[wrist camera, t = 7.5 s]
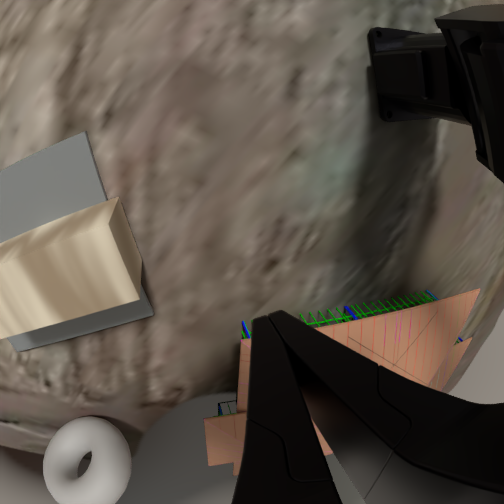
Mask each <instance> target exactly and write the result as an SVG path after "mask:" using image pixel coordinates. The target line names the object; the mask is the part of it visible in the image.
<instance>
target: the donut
mask: <svg viewBox="0 0 504 504" xmlns="http://www.w3.org/2000/svg"><path fill="white" fill-rule="evenodd" d="M90 451H92V459H91V463H90V465H89V468H88V469H87V471H86V472H85V474H84V475H82V476H81V477H80V478H78V477H77V469H78V465H79V462H80V460H81V459H82V458H83V456H84V455H85V454H86V453H88V452H90ZM131 463H132V459H131V454H130V449H129V445H128V443H127V441H126V439H125V438H124V436H123V434H122V433H121V431H120V430H119V429H118V428H117V427H115V426H114V425H113V424H111V423H110V422H109V421H107V420H105V419H102V418H98V417H93V416H87V417H79V418H76V419H74V420H72V421H70V422H68V423H66V424H65V425H64V426H63V427H61V428H60V429H59V430H58V431H57V432H56V434H55V435H54V436H53V438H52V439H51V441H50V443H49V445H48V447H47V449H46V452H45V456H44V461H43V474H44V478H45V482H46V485H47V488H48V490H49V492H50V493H51V494H52V496H53V497H54V499H55V500H56V501H57V502H58V503H59V504H115V503H116V502H117V501H118V499H119V498H120V496H121V495H122V494H123V492H124V491H125V489H126V487H127V484H128V481H129V478H130V475H131Z"/></svg>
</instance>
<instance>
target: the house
mask: <svg viewBox="0 0 504 504" xmlns="http://www.w3.org/2000/svg"><path fill="white" fill-rule="evenodd" d="M479 292H480V288H479V289H476V290H472V291H469V292H466V293H462V294H459V295H455V296H452V297H448V298H445V299H441V300H438V299H437V298H436V297H435V296H434V295H433V294H431V293H430V292H429V291H428V290H426V293H428V294H429V295H430V296H431V297H432V298H428V297H427V296H426V295H425V294H424V293H423V292H422V291H421V293H422V294H423V295H424V298H425V299H423V298H422V297H420V296H419V295H418V294H417V293H416V292H415V294H416V295H417V296H418V297H420V298H421V299H422V300H421V301H418V300H417V299H416V298H415V297H413V296H412V295H411V294H409V295H410V296H411V297H413V298H414V299H415V300H416V302H418V303H419V304H420V305H419V306H416V305H415V304H414V303H416V302H412V301H410V300H409V299H408V298H407V297H406V296H405V295H403V296H404V297H405V298H406V299H407V300H408V301H410V302H411V303H409V304H406V303H405V302H404V301H403V300H402V299H401V298H400V297H399V296H397V297H398V298H399V299H400V300H401V301H402V302H403V303H404V304H403V305H399V304H398V303H397V302H396V301H395V300H394V299H393V298H392V297H391V299H392V300H393V301H394V302H395V303H396V304H397V305H398V306H396V307H393V306H392V305H391V304H390V303H389V302H388V301H387V300H386V299H384V300H385V301H386V302H387V303H388V304H389V305H390V306H391V307H390V308H386V307H385V306H384V305H383V304H382V303H381V302H380V301H379V300H378V302H379V303H380V304H381V305H382V306H383V307H384V308H385V309H383V310H379V309H378V308H377V307H376V306H375V305H374V304H373V303H372V302H370V303H371V304H372V305H373V306H374V307H375V308H376V309H377V310H376V311H371V310H370V309H369V308H368V307H367V306H366V304H365V303H363V304H364V305H365V307H366V308H367V309H368V310H369V311H370V312H368V313H364V312H363V311H362V310H361V309H360V308H359V307H358V306H357V304H356V307H357V308H358V309H359V310H360V311H361V312H362V314H359V313H358V312H357V311H356V309H355V308H354V307H353V306H352V305H351V307H352V308H353V309H354V311H355V312H356V313H357V314H358V315H354V314H353V312H352V311H351V310H350V309H349V308H348V307H347V306H344V308H345V309H346V310H347V311H348V312H349V314H350V315H351V316H346V315H345V313H343V314H344V316H345V317H344V316H343V315H342V313H341V312H340V311H339V310H338V308H337V307H336V309H337V311H338V312H339V313H340V314H341V316H342V317H343V318H338V319H336V318H335V317H334V316H333V315H332V313H331V312H330V311H329V309H327V310H328V312H329V313H330V314H331V316H332V317H333V318H334V319H331V320H326V319H325V318H324V316H323V315H322V313H321V312H320V311H318V312H319V313H320V315H321V316H322V317H323V319H324V320H325V321H322V322H317V321H316V320H315V318H314V317H313V315H312V314H311V313H310V312H309V314H310V315H311V317H312V318H313V319H314V321H315V322H314V323H308V324H307V322H306V321H305V319H304V318H303V316H302V315H301V313H300V316H301V317H302V319H303V320H304V322H305V323H306V324H307V325H310V324H317V325H318V328H315V329H316V330H318V331H320V332H322V333H323V334H325V335H327V336H329V337H331V338H332V339H334V340H336V341H338V342H340V343H341V344H343V345H345V346H347V347H349V348H350V349H352V350H354V351H356V352H358V353H360V354H361V355H363V356H365V357H367V358H369V359H371V360H372V361H374V362H376V363H378V366H379V365H382V366H384V367H386V368H388V369H389V370H391V371H393V372H395V373H397V374H399V375H401V376H403V377H405V378H408V379H410V380H412V381H415V382H417V383H419V384H422V385H424V386H427V387H430V388H432V389H435V390H438V391H440V392H441V390H442V389H443V387H444V386H445V384H446V383H447V381H448V379H449V378H450V376H451V374H452V373H453V371H454V370H455V368H456V366H457V364H458V363H459V361H460V359H461V358H462V356H463V354H464V352H465V350H466V349H467V347H468V345H469V343H470V341H471V339H472V337H471V338H469V339H467V340H464V341H463V340H462V339H461V338H459V337H458V336H459V334H460V332H461V330H462V328H463V326H464V324H465V322H466V320H467V318H468V316H469V314H470V312H471V310H472V307H473V305H474V303H475V301H476V299H477V296H478V294H479ZM427 298H428V299H429V300H430V301H431V302H430V301H429V300H428V299H427ZM431 299H433V301H434V299H435V300H436V301H434V302H433V301H432V300H431ZM425 300H427V301H429V302H430V303H427V302H426V301H425ZM422 301H424V302H425V303H426V304H422V303H420V302H422ZM410 304H413V305H414V306H415V307H411V308H410V307H409V306H408V305H410ZM404 305H406V306H407V307H408V308H407V309H403V308H402V307H401V306H404ZM397 307H400V308H401V309H402V310H398V311H397V310H396V309H395V308H397ZM391 308H393V309H394V310H395V311H394V312H390V311H389V310H388V309H391ZM384 310H387V311H388V312H389V313H386V314H383V313H382V312H381V311H384ZM377 311H379V312H380V313H381V315H377V316H376V315H375V314H374V313H373V312H377ZM370 313H372V314H373V315H374V316H372V317H367V316H366V315H365V314H370ZM361 315H364V316H365V317H366V318H362V316H361ZM356 316H360V318H361V319H359V320H358V318H357V317H356ZM348 317H352V320H351V321H350V319H349V318H348ZM346 318H347V319H348V321H349V322H348V321H347V320H346ZM353 318H354V321H353ZM340 319H345V321H346V322H343V321H341V322H342V323H339V322H338V321H337V320H340ZM332 320H335V321H336V322H337V324H334V325H330V324H329V323H328V322H327V321H332ZM251 321H252V320H251ZM324 322H326V323H327V324H328V326H323V327H320V326H319V324H318V323H324ZM242 325H243V327H244V330H245V332H246V335H247V339H246V337H245V335H244V332H243V331H241V332H242V334H243V337H244V339H241V347H240V363H239V379H238V393H236V400H233V401H236V404H237V413H233V414H231V411H230V414H227V415H223V414H222V410H221V406H220V404H221V403H228V402H233V401H227V402H220V403H218V416H214V417H210V418H204V427H205V437H206V446H207V454H208V464H209V466H214V465H220V464H227V463H232V462H234V465H233V466H234V467H233V476H235V475H239V470H240V465H241V460H242V454H243V447H244V438H245V426H246V420H247V419H246V414H247V398H248V382H249V366H250V350H251V336H250V334H251V333H252V332H249V331H248V329H247V326H246V324H245V322H244V321H242ZM458 339H459V340H460V341H461V342H460V343H459V342H458V341H457V340H458ZM456 342H457V343H458V344H456ZM228 407H229V405H228ZM311 419H312V418H311ZM312 422H313V424H314V427H315V430H316V433H317V436H318V439H319V441H320V444H321V447H322V450H323V453H324V455H329V454H332V453H333V452H332V450H331V449H330V447H329V445H328V444H327V442H326V441H325V439H324V437H323V436H322V434H321V433H320V431H319V429H318V428H317V426H316V425H315V423H314V421H313V420H312Z"/></svg>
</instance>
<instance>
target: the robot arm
mask: <svg viewBox="0 0 504 504" xmlns="http://www.w3.org/2000/svg"><path fill="white" fill-rule="evenodd" d="M434 20H435V22H436V24H437V26H438V28H440V29H441V32H442V33H431V34H424V33H419V32H412V31H406V30H398V29H390V28H381V27H375V28H371V29H370V31H369V37H370V42H371V48H372V54H373V61H374V67H375V74H376V82H377V90H378V99H379V108H380V116H381V118H382V120H384V121H387V122H395V121H405V120H416V119H429V118H439V119H444V120H448V121H453V122H457V123H461V124H466V125H470V126H472V130H473V134H474V139H475V144H476V149H477V150H476V157H477V160H478V161H479V162H480V163H482V164H483V165H484V166H485V167H487V168H488V169H489V170H490V171H492V172H493V174H494V175H495V176H496V177H497V178H498V179H499V180H501V181H502V182H503V183H504V4H495V5H481V6H472V7H468V8H465V9H462V10H459V11H456V12H452V13H449V14H446V15H444V16H441V17H438V18H435V19H434ZM376 32H377V33H378V37H377V36H376ZM387 112H388V113H389V116H388V117H387ZM311 418H312V419H311ZM246 419H247V420H246V426H245V438H244V447H243V454H242V460H241V465H240V470H239V475H238V479H237V483H236V487H235V492H234V495H233V499H232V503H231V504H343V503H342V501H341V499H340V497H339V494H338V492H337V489H336V487H335V484H334V482H333V478H332V475H331V473H330V470H329V467H328V464H327V461H326V458H325V455H324V453H323V450H322V447H321V444H320V441H319V439H318V436H317V433H316V430H315V427H314V424H313V422H312V420H313V421H314V423H315V425H316V426H317V428H318V429H319V431H320V433H321V434H322V436H323V437H324V439H325V441H326V442H327V444H328V445H329V447H330V449H331V450H332V452H333V453H334V455H335V456H336V458H337V459H338V461H339V463H340V464H341V466H342V467H343V469H344V470H345V472H346V474H347V475H348V476H349V478H350V480H351V481H352V483H353V484H354V486H355V487H356V489H357V490H358V492H359V493H360V495H361V496H362V498H363V499H365V500H364V501H365V503H366V504H504V403H498V404H478V403H473V402H469V401H466V400H463V399H460V398H457V397H454V396H451V395H449V394H446V393H443V392H440V391H438V390H435V389H432V388H430V387H427V386H424V385H422V384H419V383H417V382H415V381H412V380H410V379H408V378H405V377H403V376H401V375H399V374H397V373H395V372H393V371H391V370H389V369H388V368H386V367H384V366H382V365H379V366H378V363H376V362H374V361H372V360H371V359H369V358H367V357H365V356H363V355H361V354H360V353H358V352H356V351H354V350H352V349H350V348H349V347H347V346H345V345H343V344H341V343H340V342H338V341H336V340H334V339H332V338H331V337H329V336H327V335H325V334H323V333H322V332H320V331H318V330H316V329H315V328H313V327H311V326H309V325H307V324H306V323H304V322H302V321H300V320H299V319H297V318H295V317H293V316H292V315H290V314H288V313H287V312H285V311H283V310H278V311H276V312H273V313H270V314H268V316H266V315H264V316H261V317H258V318H255V319H253V321H252V334H251V350H250V366H249V382H248V398H247V414H246Z"/></svg>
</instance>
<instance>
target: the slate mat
mask: <svg viewBox="0 0 504 504" xmlns="http://www.w3.org/2000/svg"><path fill="white" fill-rule="evenodd" d="M105 201H108V199H107V196H106V193H105V190H104V187H103V184H102V181H101V178H100V175H99V172H98V168H97V165H96V162H95V159H94V155H93V152H92V149H91V145H90V142H89V138H88V135H87V131H85V132H82V133H80V134H77V135H75V136H72V137H70V138H68V139H65V140H63V141H61V142H58V143H56V144H54V145H52V146H49V147H47V148H45V149H43V150H41V151H39V152H37V153H35V154H32V155H30V156H28V157H26V158H24V159H22V160H20V161H18V162H17V163H15V164H13V165H11V166H9V167H7V168H5V169H3V170H2V171H0V243H2V242H5V241H7V240H9V239H11V238H14V237H16V236H18V235H20V234H23V233H25V232H27V231H30V230H32V229H34V228H37V227H39V226H42V225H44V224H47V223H49V222H52V221H54V220H57V219H59V218H62V217H64V216H67V215H69V214H72V213H75V212H77V211H80V210H83V209H85V208H88V207H91V206H94V205H96V204H99V203H102V202H105ZM152 315H154V311H153V309H152V307H151V305H150V303H149V300H148V298H147V296H146V294H145V292H144V289H143V287H142V285H141V286H140V300H136V301H133V302H129V303H126V304H123V305H119V306H116V307H112V308H109V309H105V310H102V311H98V312H95V313H92V314H88V315H85V316H81V317H78V318H74V319H71V320H67V321H64V322H60V323H57V324H53V325H49V326H46V327H42V328H39V329H35V330H32V331H28V332H24V333H21V334H17V335H14V336H10V337H6V338H7V339H8V340H9V342H10V343H11V345H12V346H13V347H14V349H15V350H16V351H17V352H19V351H23V350H27V349H31V348H35V347H39V346H43V345H47V344H51V343H54V342H58V341H62V340H66V339H70V338H73V337H77V336H81V335H84V334H88V333H92V332H95V331H99V330H103V329H106V328H110V327H113V326H117V325H121V324H124V323H128V322H131V321H135V320H138V319H142V318H145V317H148V316H152Z"/></svg>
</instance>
